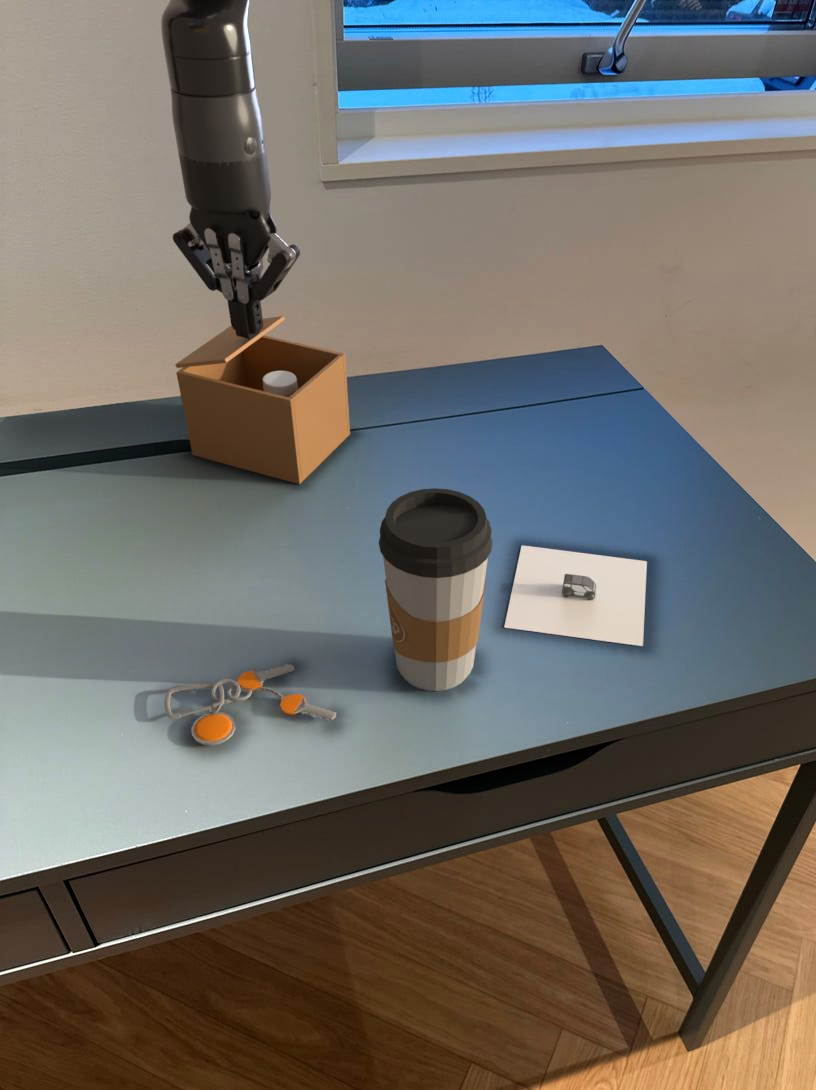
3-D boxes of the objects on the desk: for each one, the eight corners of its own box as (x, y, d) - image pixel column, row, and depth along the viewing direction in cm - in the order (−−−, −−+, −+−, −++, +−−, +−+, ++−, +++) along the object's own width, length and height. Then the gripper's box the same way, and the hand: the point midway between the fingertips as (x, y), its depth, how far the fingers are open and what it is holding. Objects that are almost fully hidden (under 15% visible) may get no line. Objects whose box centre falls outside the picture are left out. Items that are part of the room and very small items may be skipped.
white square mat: (642, 646, 80) (645, 633, 79) (504, 627, 81) (505, 614, 80) (646, 561, 89) (649, 548, 88) (521, 545, 90) (522, 532, 89)
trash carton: (192, 455, 99) (175, 372, 93) (249, 408, 107) (237, 328, 100) (299, 484, 96) (290, 400, 90) (350, 434, 104) (345, 353, 97)
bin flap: (176, 368, 92) (174, 364, 92) (237, 325, 100) (236, 321, 100) (226, 363, 90) (224, 359, 89) (285, 319, 97) (284, 315, 97)
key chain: (166, 753, 69) (164, 746, 69) (164, 684, 74) (162, 677, 74) (338, 725, 72) (337, 718, 71) (325, 660, 77) (324, 653, 76)
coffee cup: (374, 642, 79) (365, 493, 69) (468, 624, 81) (473, 477, 71) (398, 712, 73) (393, 561, 63) (499, 690, 75) (510, 541, 65)
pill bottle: (307, 455, 99) (300, 388, 94) (264, 455, 99) (255, 388, 93) (308, 433, 102) (302, 367, 97) (268, 434, 102) (259, 368, 97)
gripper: (309, 145, 83) (325, 332, 94) (183, 124, 86) (213, 308, 98) (264, 168, 78) (287, 363, 89) (131, 145, 81) (170, 336, 93)
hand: (248, 334), depth 94 cm, fingers closed
